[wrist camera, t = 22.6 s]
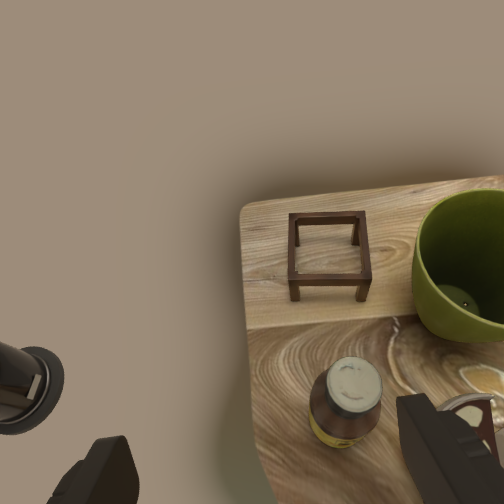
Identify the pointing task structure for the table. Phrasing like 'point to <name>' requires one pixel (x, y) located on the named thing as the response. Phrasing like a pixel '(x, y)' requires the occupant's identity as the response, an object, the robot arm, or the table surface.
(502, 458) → the flask
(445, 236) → the flower pot
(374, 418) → the sauce bottle
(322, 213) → the open square stand
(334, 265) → the table surface
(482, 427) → the food container
